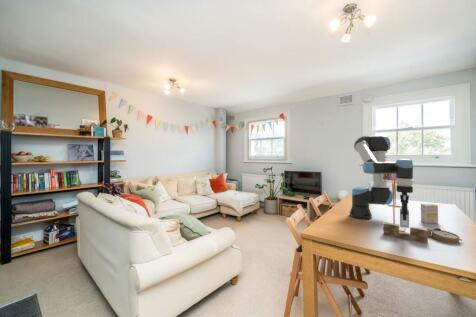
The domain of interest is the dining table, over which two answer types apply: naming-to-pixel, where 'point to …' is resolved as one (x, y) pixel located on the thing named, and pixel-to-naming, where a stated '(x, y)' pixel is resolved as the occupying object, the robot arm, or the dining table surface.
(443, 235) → the alarm clock
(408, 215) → the slotted blue block
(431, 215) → the supplement box
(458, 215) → the dining table surface
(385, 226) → the walnut rail
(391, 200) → the robot arm
